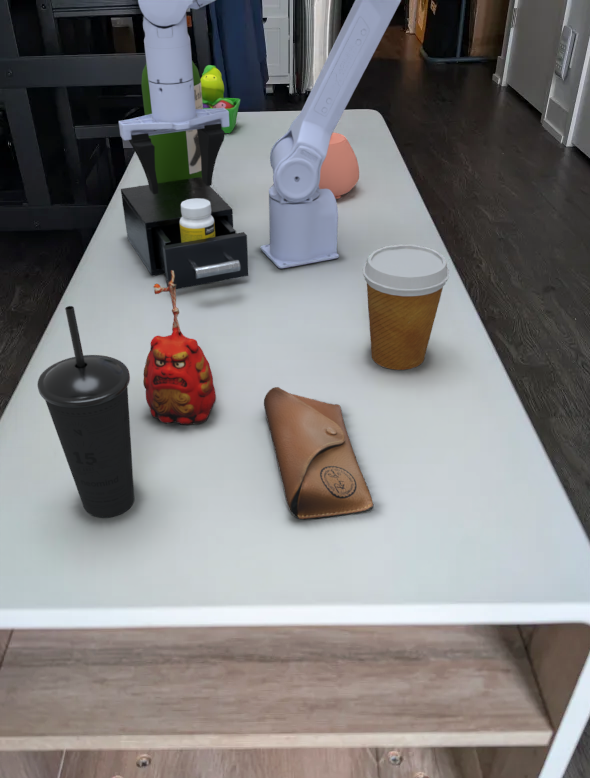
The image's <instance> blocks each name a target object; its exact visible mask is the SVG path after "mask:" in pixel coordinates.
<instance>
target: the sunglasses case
mask: <svg viewBox="0 0 590 778" xmlns="http://www.w3.org/2000/svg"><path fill="white" fill-rule="evenodd" d="M264 396H265V397H264V398H263V407H264V411H265V417H266V420H267V425H268V428H269V432H270V436H271V441H272V444H273V448H274V449H273V450H274V452H275V457H276V461H277V465H278V469H279V474H280V479H281V482H282V487H283V491H284V496H285V501H286V503H287V506H288V509H289V512H291V514H293V515H294V517H296V518H297V519H299V520H312V519H327V518H337V517H341V516H347V515H352V514H353V515H354V514H359V513H362V512H363V513H364V512H367V511H370V510H372V508H373V507H374V501H373V498H372V495H371V492H370V490H369V487H368V485H367V482H366V479H365V477H364V475H363V472H362V470H361V468H360V464H359V462H358V460H357V457H356V454H355V451H354V449H353V446H352V443H351V439H350V436H349V433H348V431H347V427H346V425H345V421H344V416H343V412H342V408H341V406H340V404H337V403H336V404H333V403H328V402H325V401H321V400H317V399H314V398H309V397H305V396H301V395H298V394H294V393H290V392H288V391H286V390H284V389H283V388H280V387H279V386H274V387H272V388H271V389H269V390H268V391H267V393H266V394H265V395H264Z"/></svg>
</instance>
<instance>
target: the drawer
mask: <svg viewBox="0 0 590 778" xmlns="http://www.w3.org/2000/svg"><path fill="white" fill-rule="evenodd" d="M214 224H215V237H212V238H206V239H200V240H194V241H189V242H183V243H181V233H180V223H177V224H171V225H165V226H159V227H153V228H152V237H153V245H154V253H155V260H156V261H157V263H158V264H159V266H160V267H161V269H162V270H163V271H164V275H165V280H166V288H167V287H168V286H169V284H168V283H169V282H170V281H171V279H172V274H171V270H172V271H174V274H175V276H174V282H173V283H174V285H175V284H176V290H179V289H185V288H190V287H196V286H202V285H206V284H212V283H217V282H223V281H229V280H233V279H238V278H244V277H249V260H248V259H249V255H248V235H247V234H246V233H245V231H242V232H237V231H236V229H235V228H234V226H233V227H232V226H231V225H230V224H229V223H228V222H227V221H226V220H225V219H224V218H223V216H220V217H214Z"/></svg>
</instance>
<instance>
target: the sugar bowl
mask: <svg viewBox="0 0 590 778" xmlns="http://www.w3.org/2000/svg"><path fill="white" fill-rule="evenodd" d="M359 179H360V167H359V162H358V158H357V156H356V154H355V151H354V149H353V147H352V145H351V143H350V142H349V140H348V139H347V137H346V136H345V135H344V134H341V133H338V132H334V131H333V133H332V135H331V138H330V142H329V146H328V151H327V155H326V158H325V160H324V161H323V164H322V166H321V170H320V182H319V189H329V190H331V192H332V193H333V195H334V197H335V199H336V200H338V199H341V198H342V196H343V195H345V194H347V193H349V192H351V190H353V188H354V187H355V186H356V185H357V183H358V182H359Z"/></svg>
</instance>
